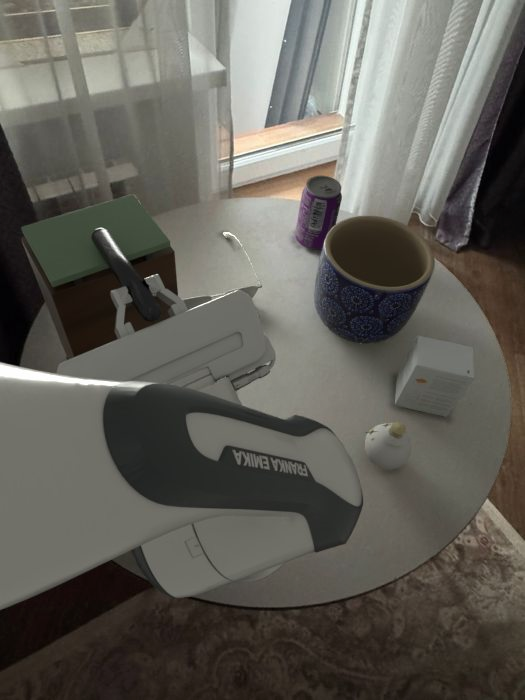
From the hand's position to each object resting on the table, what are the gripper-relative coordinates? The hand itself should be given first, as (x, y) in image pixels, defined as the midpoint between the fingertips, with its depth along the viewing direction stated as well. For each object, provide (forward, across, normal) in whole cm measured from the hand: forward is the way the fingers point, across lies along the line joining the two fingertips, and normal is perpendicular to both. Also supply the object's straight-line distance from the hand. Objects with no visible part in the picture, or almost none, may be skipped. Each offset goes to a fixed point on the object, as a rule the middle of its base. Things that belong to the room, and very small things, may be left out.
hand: (133, 283), depth 49 cm
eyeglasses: (+6, -20, +35) cm, 41 cm away
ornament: (-31, -23, +13) cm, 41 cm away
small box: (-28, -36, +15) cm, 48 cm away
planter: (-13, -37, +24) cm, 46 cm away
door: (+3, 0, +5) cm, 6 cm away
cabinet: (-4, 0, +29) cm, 29 cm away
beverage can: (+4, -43, +34) cm, 55 cm away
